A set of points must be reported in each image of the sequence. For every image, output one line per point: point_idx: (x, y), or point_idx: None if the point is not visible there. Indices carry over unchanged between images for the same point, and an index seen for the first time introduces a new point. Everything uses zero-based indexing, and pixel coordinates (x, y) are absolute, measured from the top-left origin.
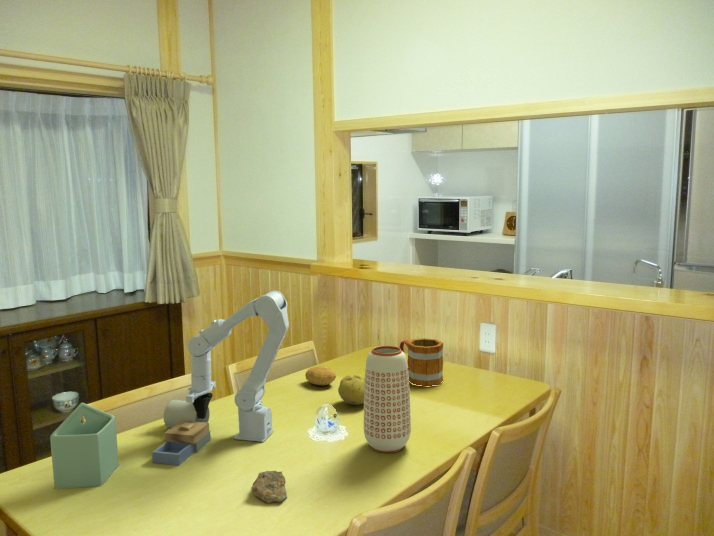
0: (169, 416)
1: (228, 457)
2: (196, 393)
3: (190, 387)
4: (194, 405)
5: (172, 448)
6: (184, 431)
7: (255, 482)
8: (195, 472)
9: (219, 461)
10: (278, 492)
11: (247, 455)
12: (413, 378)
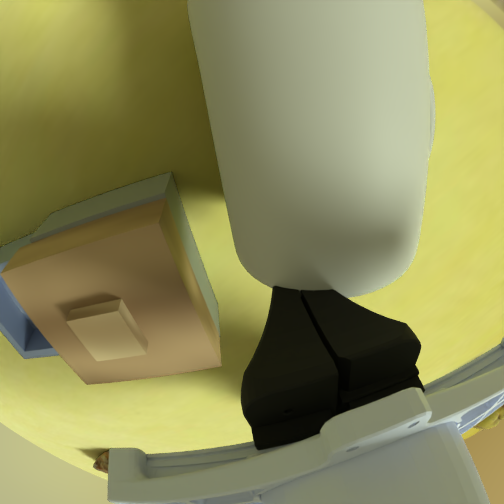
0: (196, 47)
1: (158, 395)
2: (239, 493)
3: (368, 446)
4: (266, 334)
5: None
6: (76, 341)
7: (102, 469)
8: (54, 377)
9: (127, 391)
10: None
11: (195, 413)
12: None
